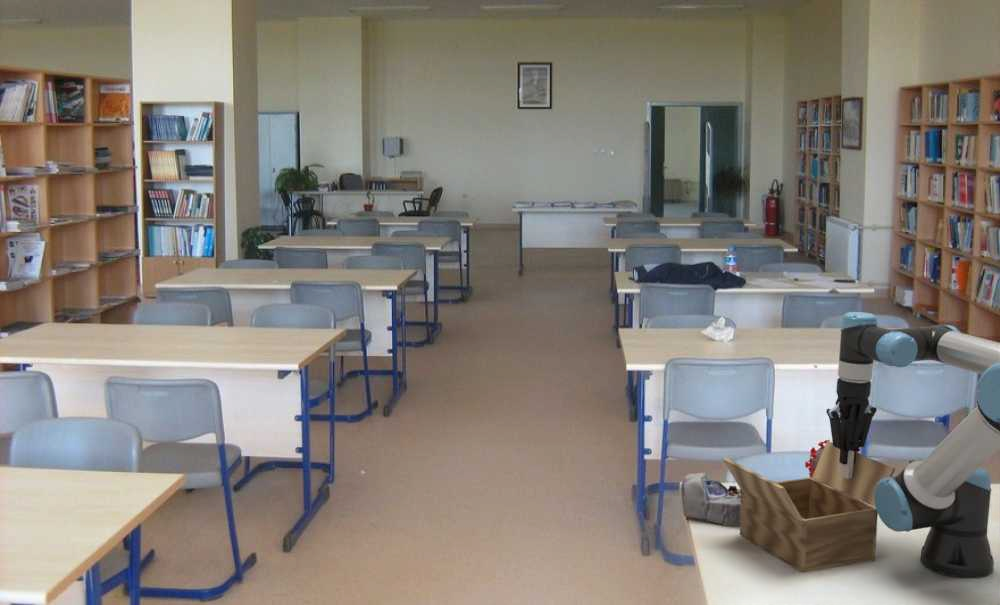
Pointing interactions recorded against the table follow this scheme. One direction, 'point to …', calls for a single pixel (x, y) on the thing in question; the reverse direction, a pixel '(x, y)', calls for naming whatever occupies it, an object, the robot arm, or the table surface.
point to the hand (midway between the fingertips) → (846, 476)
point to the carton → (812, 527)
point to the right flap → (862, 475)
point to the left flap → (762, 488)
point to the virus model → (816, 459)
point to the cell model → (710, 500)
